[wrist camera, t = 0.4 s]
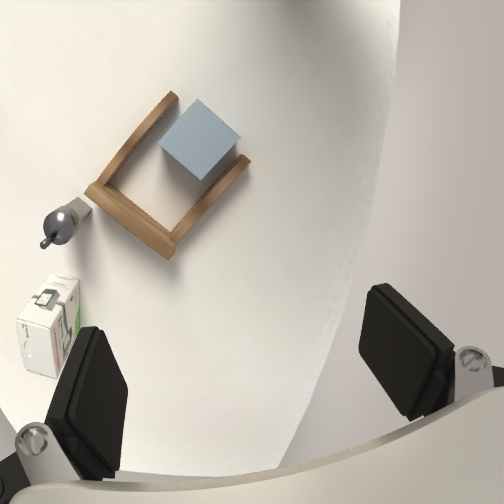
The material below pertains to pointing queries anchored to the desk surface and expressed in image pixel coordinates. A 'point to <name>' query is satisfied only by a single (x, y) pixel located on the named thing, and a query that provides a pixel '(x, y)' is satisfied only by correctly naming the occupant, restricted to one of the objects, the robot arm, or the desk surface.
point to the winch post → (64, 222)
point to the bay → (136, 217)
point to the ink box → (49, 325)
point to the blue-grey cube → (198, 139)
